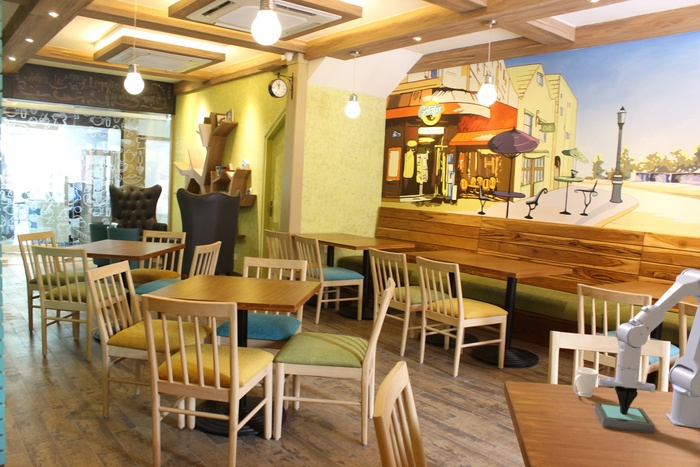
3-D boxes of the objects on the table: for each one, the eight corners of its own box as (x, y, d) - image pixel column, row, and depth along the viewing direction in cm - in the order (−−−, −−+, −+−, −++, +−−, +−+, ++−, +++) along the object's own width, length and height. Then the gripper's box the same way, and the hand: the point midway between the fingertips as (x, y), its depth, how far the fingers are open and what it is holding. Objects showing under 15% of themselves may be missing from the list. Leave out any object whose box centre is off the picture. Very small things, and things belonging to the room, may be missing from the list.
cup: (600, 396, 184) (603, 372, 183) (583, 402, 178) (585, 376, 177) (580, 389, 189) (583, 365, 189) (563, 394, 183) (565, 370, 183)
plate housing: (641, 416, 168) (642, 408, 168) (653, 434, 156) (654, 425, 155) (594, 410, 171) (595, 402, 171) (602, 427, 158) (603, 418, 158)
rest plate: (637, 414, 167) (638, 409, 167) (647, 427, 157) (647, 422, 157) (600, 409, 169) (601, 404, 169) (607, 422, 159) (608, 416, 159)
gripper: (652, 365, 164) (647, 411, 165) (597, 359, 168) (593, 404, 169) (659, 372, 157) (654, 421, 158) (602, 366, 161) (598, 413, 162)
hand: (623, 413), depth 163 cm, fingers closed, pressing on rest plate
